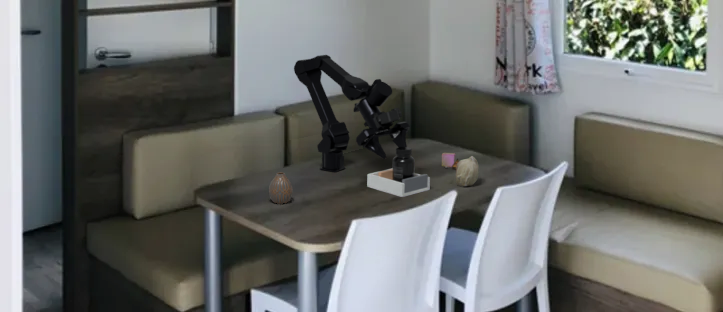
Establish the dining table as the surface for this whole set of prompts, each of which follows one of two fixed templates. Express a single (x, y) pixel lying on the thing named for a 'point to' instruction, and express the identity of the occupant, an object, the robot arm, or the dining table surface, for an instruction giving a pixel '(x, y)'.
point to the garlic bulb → (467, 172)
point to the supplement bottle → (403, 164)
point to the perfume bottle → (449, 160)
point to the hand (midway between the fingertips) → (396, 156)
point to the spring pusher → (386, 174)
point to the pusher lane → (399, 184)
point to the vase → (280, 189)
